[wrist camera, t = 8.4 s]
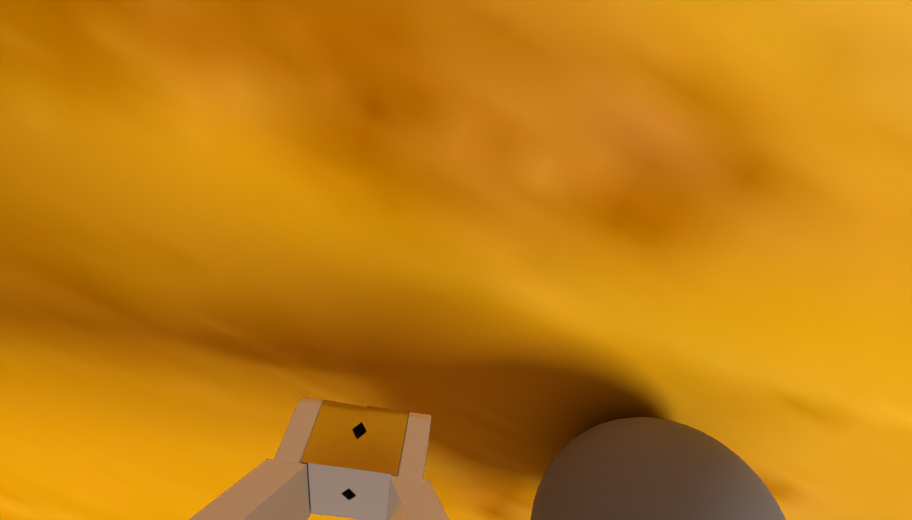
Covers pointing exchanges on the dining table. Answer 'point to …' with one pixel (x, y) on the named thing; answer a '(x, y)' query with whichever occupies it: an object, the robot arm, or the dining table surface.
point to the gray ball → (650, 477)
